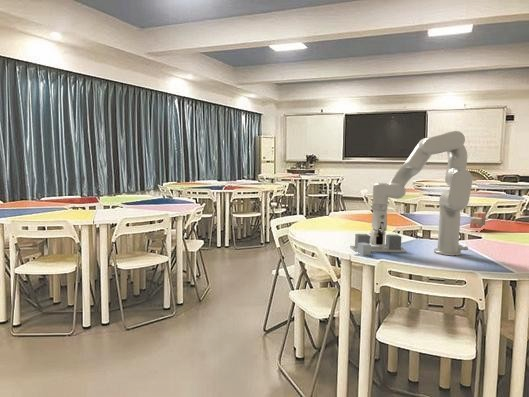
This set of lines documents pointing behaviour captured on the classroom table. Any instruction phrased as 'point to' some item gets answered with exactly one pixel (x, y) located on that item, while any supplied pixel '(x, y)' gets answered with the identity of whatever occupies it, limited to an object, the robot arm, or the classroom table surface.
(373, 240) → the block
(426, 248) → the classroom table surface
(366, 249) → the block
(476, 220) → the stack of blocks
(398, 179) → the robot arm
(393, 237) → the rail
